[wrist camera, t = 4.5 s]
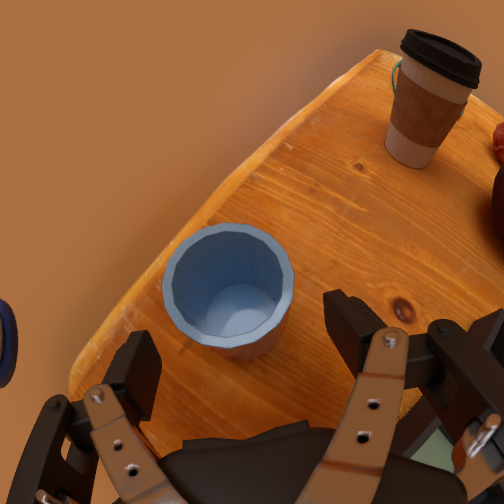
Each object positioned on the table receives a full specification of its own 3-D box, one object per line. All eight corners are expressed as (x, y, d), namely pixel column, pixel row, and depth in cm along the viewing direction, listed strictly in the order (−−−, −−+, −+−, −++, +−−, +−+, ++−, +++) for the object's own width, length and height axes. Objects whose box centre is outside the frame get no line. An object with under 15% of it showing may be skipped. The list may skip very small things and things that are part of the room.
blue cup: (233, 377, 17) (209, 375, 10) (186, 311, 20) (142, 269, 12) (301, 325, 19) (321, 289, 11) (250, 265, 21) (240, 202, 14)
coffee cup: (446, 180, 24) (501, 78, 11) (387, 174, 25) (434, 46, 11) (420, 133, 28) (454, 39, 15) (365, 125, 28) (389, 17, 15)
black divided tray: (424, 556, 6) (442, 571, 2) (328, 482, 13) (342, 504, 9) (533, 423, 10) (557, 421, 6) (473, 321, 17) (502, 307, 13)
